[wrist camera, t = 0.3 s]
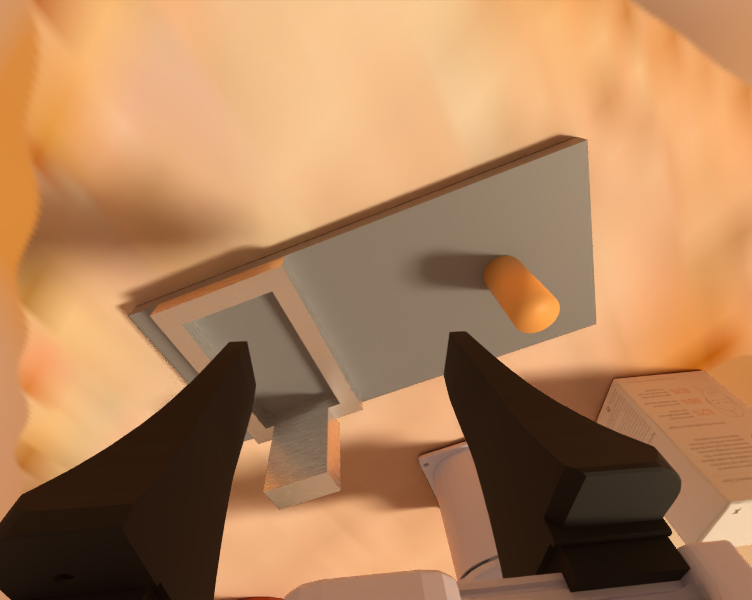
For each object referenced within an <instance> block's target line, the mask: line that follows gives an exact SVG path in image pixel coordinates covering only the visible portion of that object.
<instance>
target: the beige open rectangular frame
mask: <svg viewBox="0 0 752 600" xmlns="http://www.w3.org/2000/svg"><path fill="white" fill-rule="evenodd" d="M269 292H273V294H274V295H275V297H276V298H277V300H278V302H279V303H280V305H281V307H282V308H283V310H284V312H285V313H286V315H287V317H288V318H289V320H290V322H291V323H292V325H293V327H294V328H295V330H296V332H297V333H298V335H299V337H300V338H301V340H302V342H303V343H304V345H305V346H306V348H307V350H308V351H309V353H310V355H311V356H312V358H313V360H314V361H315V363H316V365H317V366H318V368H319V370H320V371H321V373H322V375H323V376H324V378H325V380H326V381H327V383H328V385H329V386H330V388H331V390H332V391H333V394H330V395H327V396H324V397H321V398H318V399H315V400H312V401H309V402H306V403H303V404H300V405H297V406H294V407H291V408H289V409H286V410H283V411H280V412H277V413H274V414H271V415H268V414H267V413H266V412H265V411H264V409H263V408H262V407H261V405H260V404H259V403H258V402H257V400H256V399H255V398H254V403H253V409H252V414H251V417H250V421H249V424H248V428H247V431H248V432H249V433H250V434H251V436H252V437H253V438H254V439H255V440H256V442H257V443H258V444H261V443H264V442H267V441H270V440H272V443H271V449H270V455H269V461H268V467H267V473H266V479H265V485H264V490H263V493H264V494H265V495H266V496H267V497H268V498H269V499H270V500H271V501H272V502H273V503H274V504H275V505H276V506H277V508H278V509H279V510H280V509H283V508H286V507H290V506H293V505H296V504H299V503H303V502H306V501H309V500H312V499H315V498H319V497H322V496H325V495H328V494H332V493H335V492H338V491H341V480H340V424H339V422H338V420H337V419H336V418H339V417H342V416H345V415H348V414H351V413H354V412H357V411H360V410H363V405H362V396H361V395H360V393H359V391H358V389H357V387H356V385H355V384H354V382H353V380H352V378H351V376H350V375H349V373H348V371H347V369H346V367H345V365H344V364H343V362H342V360H341V358H340V356H339V355H338V353H337V351H336V349H335V347H334V345H333V344H332V342H331V340H330V338H329V336H328V335H327V333H326V331H325V329H324V327H323V325H322V324H321V322H320V320H319V318H318V316H317V315H316V313H315V311H314V309H313V307H312V305H311V304H310V302H309V300H308V298H307V296H306V295H305V293H304V291H303V289H302V287H301V285H300V284H299V282H298V280H297V278H296V276H295V275H294V273H293V271H292V269H291V267H290V265H289V264H288V262H287V260H286V258H285V256H283V257H281V258H278V259H276V260H273V261H270V262H268V263H265V264H263V265H260V266H257V267H255V268H252V269H249V270H247V271H244V272H242V273H239V274H236V275H234V276H231V277H229V278H226V279H223V280H221V281H218V282H216V283H213V284H210V285H208V286H205V287H203V288H200V289H197V290H195V291H192V292H190V293H187V294H184V295H182V296H179V297H177V298H174V299H171V300H169V301H166V302H164V303H161V304H158V306H157V307H156V308H155V310H154V311H153V312H152V314H151V315H150V317H151V318H152V319H153V321H154V322H155V323H156V324H157V325H158V326H159V328H160V329H161V330H162V331H163V332H164V333H165V335H166V336H167V337H168V338H169V339H170V341H171V342H172V343H173V344H174V345H175V346H176V348H177V349H178V350H179V351H180V352H181V353H182V355H183V356H184V357H185V358H186V359H187V360H188V362H189V363H190V364H191V365H192V366H193V368H194V369H195V370H196V371H197V372H198V373H200V372H201V371H202V370H203V369H204V368H205V367H206V366H207V365H208V364H209V363H210V362H211V361H212V360H213V358H214V357H215V356H216V355H217V354H218V353H219V351H218V350H217V349H216V348H215V346H214V345H213V344H212V342H211V341H210V340H209V339H208V337H207V336H206V335H205V333H204V332H203V331H202V330H201V328H200V327H199V326H198V324H197V323H196V322H195V320H197V319H200V318H203V317H205V316H208V315H211V314H213V313H216V312H219V311H221V310H224V309H227V308H229V307H232V306H235V305H237V304H240V303H243V302H245V301H248V300H251V299H253V298H256V297H259V296H261V295H264V294H267V293H269Z"/></svg>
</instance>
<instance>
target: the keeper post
mask: <svg viewBox="0 0 752 600" xmlns="http://www.w3.org/2000/svg"><path fill="white" fill-rule="evenodd" d="M483 280H484V283H485V285H486V286H487V287H488V289H489V290H490V292H491V293H492V295H493V296H494V297H495V299H496V300H497V302H498V303H499V304H500V306H501V307H502V309H503V310H504V311H505V313H506V314H507V316H508V317H509V318H510V320H511V321H512V323H513V324H514V325H515V327H516V328H517V329H518V330H519V331H521V332H524V333H536V332H540V331H542V330H544V329H546V328H547V327H549V326H550V325H551V324H552V323H553V322H554V321H555V320H556V318H557V317H558V314H559V311H560V305H559V302H558V300H557V299H556V298H555V297H554V296H553V295H552V294H551V293H550V292H549V291H548V290H547V289H546V288H545V287H544V286H543V285H542V283H541V282H540V281H539V280H538V279H537V278H536V277H535V276H534V275H533V274H532V273H531V272H530V271H529V270H528V269H527V268H526V267H525V266H524V265H523V264H522V263H521V262H520V261H519V260H518V259H517V258H515V257H513V256H509V255H505V256H500V257H497V258H495V259H494V260H492V261H491V262H490V263H489V264H488V265H487V267H486V268H485V270H484V273H483Z"/></svg>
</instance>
